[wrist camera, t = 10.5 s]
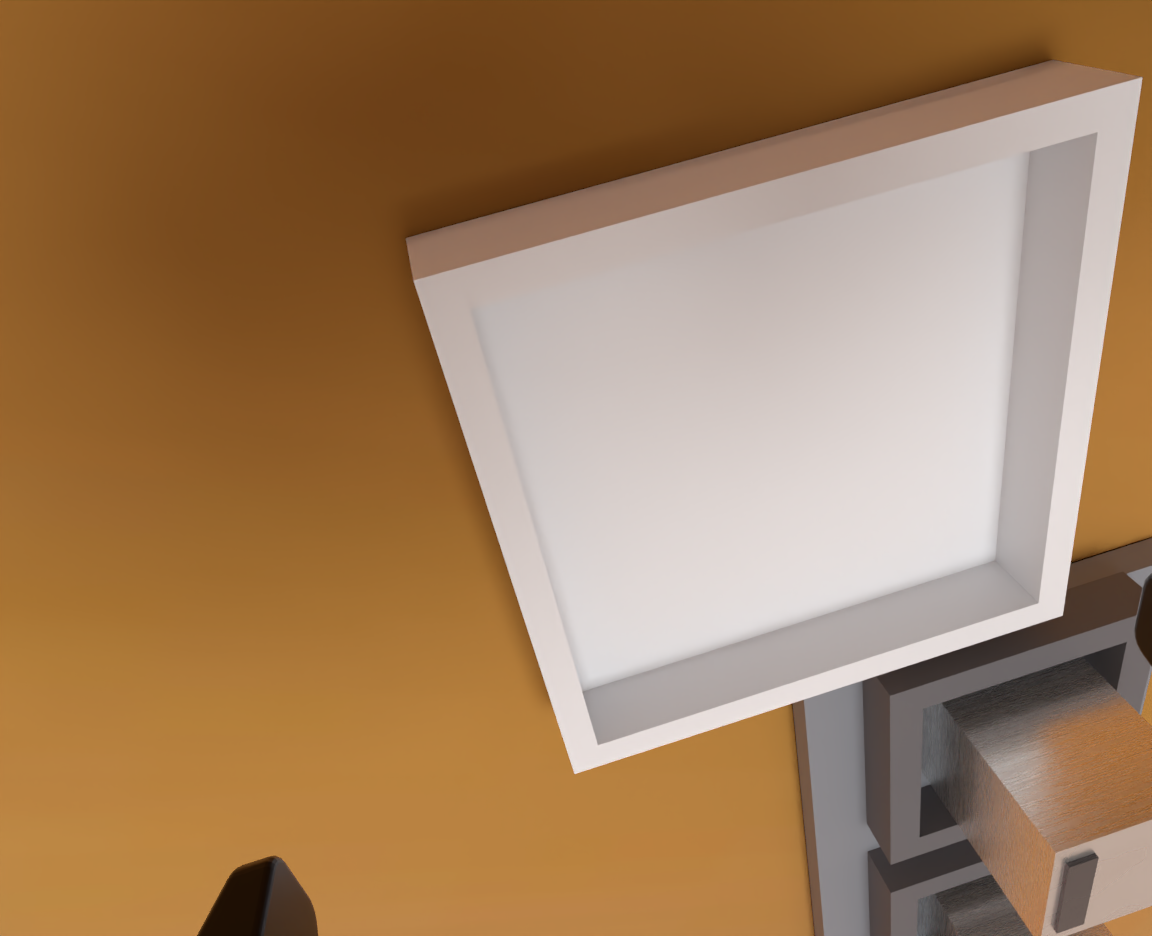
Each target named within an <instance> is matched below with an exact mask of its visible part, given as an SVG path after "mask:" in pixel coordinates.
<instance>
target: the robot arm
mask: <svg viewBox="0 0 1152 936" xmlns="http://www.w3.org/2000/svg"><path fill="white" fill-rule="evenodd" d="M1134 635H1135V639H1136V642H1137V645H1138V647H1139V649H1140V651H1141V652H1142V654H1143V656H1144V657H1145V658H1146V660H1147V661H1148V662H1149V664H1150V665H1151V666H1152V573H1151V574H1149V575H1148V576H1147V577H1146V579H1145V581H1144V584H1143V588H1142V592H1141V597H1140V602H1139V606H1138V611H1137V616H1136V620H1135V625H1134ZM197 936H318V930H317V920H316V915H315V911H314V908H313V905H312V903H311V900H310V899H309V897H308V895H307V894H306V892H305V891H304V889H303V888H302V887H301V885H300V884H299V882H298V881H297V879H296V878H295V876H294V875H293V873H292V872H291V870H290V869H289V868H288V866H287V865H286V863H285V862H284V861H283V860H282V859H281V858H279V857H277V856H270V857H267V858H263V859H260V860H257V861H254V862H251V863H248V864H245V865H242V866H240V867H238V868H237V869H235V870H234V871H233V872H232V874H231V875H230V876H229V878H228V879H227V881H226V883H225V885H224V887H223V889H222V890H221V892H220V894H219V896H218V898H217V900H216V902H215V903H214V905H213V907H212V909H211V911H210V913H209V914H208V916H207V918H206V920H205V922H204V924H203V926H202V927H201V929H200V931H199V933H198V935H197Z"/></svg>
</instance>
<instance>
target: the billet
mask: <svg viewBox="0 0 1152 936" xmlns="http://www.w3.org/2000/svg"><path fill="white" fill-rule="evenodd" d="M917 932H918V934H919V936H1033V935H1032V934H1031V932H1030V931H1029V929H1028V928H1027V926H1026V925H1025V923H1024V922H1023V920H1022V919H1021V917H1020V916H1019V914H1018V913H1017V911H1016V910H1015V908H1014V907H1013V905H1012V904H1011V902H1010V901H1009V900H1008V898H1007V897H1006V895H1005V894H1004V892H1003V891H1002V889H1001V888H1000V886H999V885H998V883H997V882H996V880H995V879H994V877H993V876H992V874H990V875H987V876H984V877H981V878H979V879H976V880H973V881H970V882H967V883H964V884H961V885H958V886H955V887H952V888H950V889H947V890H944V891H941V892H938V893H935V894H932V895H929V896H926V897H923V898H921V899H918V911H917ZM1068 936H1113V935H1112V934H1111V933H1110V931H1109V930H1108V929H1107V927H1106V926H1105V925H1104V923H1102V924H1099V925H1096V926H1093V927H1090V928H1088V929H1085V930H1082V931H1079V932H1076V933H1073V934H1071V935H1068Z"/></svg>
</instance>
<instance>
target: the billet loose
mask: <svg viewBox="0 0 1152 936" xmlns="http://www.w3.org/2000/svg"><path fill="white" fill-rule="evenodd" d="M921 771H922V772H923V774H924V775H925V777H926V778H927V780H928V781H929V783H930V784H931V786H932V787H933V789H934V790H935V792H936V793H937V795H938V796H939V798H940V799H941V800H942V802H943V803H944V805H945V806H946V808H947V809H948V811H949V812H950V814H951V815H952V817H953V818H954V820H955V821H956V823H957V824H958V826H959V827H960V829H961V830H962V832H963V833H964V834H965V836H966V837H967V839H968V840H969V842H970V843H971V845H972V846H973V848H974V849H975V851H976V852H977V854H978V855H979V857H980V858H981V860H982V861H983V863H984V864H985V866H986V867H987V868H988V870H989V871H990V873H991V874H992V876H993V877H994V879H995V880H996V882H997V883H998V885H999V886H1000V888H1001V889H1002V891H1003V892H1004V894H1005V895H1006V897H1007V898H1008V900H1009V901H1010V902H1011V904H1012V905H1013V907H1014V908H1015V910H1016V911H1017V913H1018V914H1019V916H1020V917H1021V919H1022V920H1023V922H1024V923H1025V925H1026V926H1027V928H1028V929H1029V931H1030V932H1031V934H1032V935H1033V936H1068V935H1071V934H1073V933H1076V932H1079V931H1082V930H1085V929H1088V928H1090V927H1093V926H1096V925H1099V924H1102V923H1104V922H1107V921H1110V920H1113V919H1116V918H1119V917H1121V916H1124V915H1127V914H1130V913H1133V912H1135V911H1138V910H1141V909H1144V908H1147V907H1150V906H1152V726H1151V725H1150V724H1149V723H1148V722H1147V721H1146V720H1145V719H1144V718H1143V717H1142V716H1141V715H1140V714H1139V713H1138V712H1137V711H1136V710H1135V709H1134V708H1133V707H1132V706H1131V705H1130V704H1129V703H1128V702H1127V701H1126V700H1125V699H1124V698H1123V697H1122V696H1121V695H1120V694H1119V693H1118V692H1117V691H1116V690H1115V689H1114V688H1113V687H1112V686H1111V685H1110V684H1109V683H1108V682H1107V681H1106V680H1105V679H1104V678H1103V677H1102V676H1101V675H1100V674H1099V673H1098V672H1097V671H1096V670H1095V669H1094V668H1093V667H1092V666H1091V665H1090V664H1089V663H1088V662H1087V661H1086V660H1085V659H1084V658H1083V657H1079V658H1076V659H1073V660H1070V661H1067V662H1064V663H1061V664H1058V665H1055V666H1052V667H1049V668H1046V669H1043V670H1040V671H1036V672H1033V673H1030V674H1027V675H1024V676H1021V677H1018V678H1015V679H1012V680H1009V681H1006V682H1003V683H1000V684H997V685H994V686H991V687H988V688H985V689H982V690H979V691H976V692H973V693H970V694H967V695H963V696H960V697H957V698H954V699H951V700H948V701H945V702H942V703H939V704H936V705H933V706H930V707H927V708H924V709H923V730H922V766H921Z"/></svg>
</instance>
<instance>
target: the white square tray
mask: <svg viewBox="0 0 1152 936" xmlns="http://www.w3.org/2000/svg"><path fill="white" fill-rule="evenodd" d="M1142 78H1143V77H1140V76H1134V75H1129V74H1124V73H1119V72H1114V71H1109V70H1104V69H1098V68H1093V67H1088V66H1083V65H1078V64H1073V63H1067V62H1062V61H1057V60H1050V61H1047V62H1043V63H1039V64H1036V65H1032V66H1028V67H1025V68H1021V69H1018V70H1014V71H1010V72H1007V73H1003V74H999V75H996V76H992V77H989V78H985V79H981V80H978V81H974V82H970V83H967V84H963V85H959V86H956V87H952V88H949V89H945V90H941V91H938V92H934V93H930V94H927V95H923V96H920V97H916V98H912V99H909V100H905V101H901V102H898V103H894V104H890V105H887V106H883V107H880V108H876V109H872V110H869V111H865V112H861V113H858V114H854V115H851V116H847V117H843V118H840V119H836V120H832V121H829V122H825V123H821V124H818V125H814V126H811V127H807V128H803V129H800V130H796V131H792V132H789V133H785V134H782V135H778V136H774V137H771V138H767V139H763V140H760V141H756V142H752V143H749V144H745V145H742V146H738V147H734V148H731V149H727V150H723V151H720V152H716V153H713V154H709V155H705V156H702V157H698V158H694V159H691V160H687V161H683V162H680V163H676V164H673V165H669V166H665V167H662V168H658V169H654V170H651V171H647V172H644V173H640V174H636V175H633V176H629V177H625V178H622V179H618V180H614V181H611V182H607V183H604V184H600V185H596V186H593V187H589V188H585V189H582V190H578V191H574V192H571V193H567V194H564V195H560V196H556V197H553V198H549V199H545V200H542V201H538V202H535V203H531V204H527V205H524V206H520V207H516V208H513V209H509V210H505V211H502V212H498V213H495V214H491V215H487V216H484V217H480V218H476V219H473V220H469V221H466V222H462V223H458V224H455V225H451V226H447V227H444V228H440V229H436V230H433V231H429V232H426V233H422V234H418V235H415V236H411V237H407V238H406V243H407V248H408V254H409V259H410V265H411V270H412V276H413V281H414V284H415V287H416V290H417V293H418V296H419V299H420V302H421V305H422V308H423V311H424V315H425V318H426V321H427V324H428V327H429V330H430V333H431V336H432V339H433V342H434V345H435V348H436V351H437V354H438V357H439V360H440V363H441V367H442V370H443V373H444V376H445V379H446V382H447V385H448V388H449V391H450V394H451V397H452V400H453V403H454V406H455V409H456V412H457V416H458V419H459V422H460V425H461V428H462V431H463V434H464V437H465V440H466V443H467V446H468V449H469V452H470V455H471V458H472V461H473V464H474V468H475V471H476V474H477V477H478V480H479V483H480V486H481V489H482V492H483V495H484V498H485V501H486V504H487V507H488V510H489V513H490V516H491V520H492V523H493V526H494V529H495V532H496V535H497V538H498V541H499V544H500V547H501V550H502V553H503V556H504V559H505V562H506V565H507V568H508V572H509V575H510V578H511V581H512V584H513V587H514V590H515V593H516V596H517V599H518V602H519V605H520V608H521V611H522V614H523V617H524V621H525V624H526V627H527V630H528V633H529V636H530V639H531V642H532V645H533V648H534V651H535V654H536V657H537V660H538V663H539V666H540V669H541V673H542V676H543V679H544V682H545V685H546V688H547V691H548V694H549V697H550V700H551V703H552V706H553V709H554V712H555V715H556V718H557V721H558V725H559V728H560V731H561V734H562V737H563V740H564V743H565V746H566V749H567V752H568V755H569V758H570V761H571V764H572V767H573V770H574V773H575V774H576V773H579V772H582V771H585V770H589V769H592V768H595V767H598V766H601V765H604V764H607V763H610V762H613V761H616V760H619V759H622V758H626V757H629V756H632V755H635V754H638V753H641V752H644V751H647V750H650V749H653V748H656V747H659V746H662V745H666V744H669V743H672V742H675V741H678V740H681V739H684V738H687V737H690V736H693V735H696V734H699V733H703V732H706V731H709V730H712V729H715V728H718V727H721V726H724V725H727V724H730V723H733V722H736V721H740V720H743V719H746V718H749V717H752V716H755V715H758V714H761V713H764V712H767V711H770V710H773V709H776V708H780V707H783V706H786V705H789V704H792V703H795V702H798V701H801V700H804V699H807V698H810V697H813V696H817V695H820V694H823V693H826V692H829V691H832V690H835V689H838V688H841V687H844V686H847V685H850V684H854V683H857V682H860V681H863V680H866V679H869V678H872V677H875V676H878V675H881V674H884V673H887V672H890V671H894V670H897V669H900V668H903V667H906V666H909V665H912V664H915V663H918V662H921V661H924V660H927V659H931V658H934V657H937V656H940V655H943V654H946V653H949V652H952V651H955V650H958V649H961V648H964V647H968V646H971V645H974V644H977V643H980V642H983V641H986V640H989V639H992V638H995V637H998V636H1001V635H1004V634H1008V633H1011V632H1014V631H1017V630H1020V629H1023V628H1026V627H1029V626H1032V625H1035V624H1038V623H1041V622H1045V621H1048V620H1051V619H1054V618H1057V617H1060V616H1063V611H1064V604H1065V597H1066V590H1067V584H1068V577H1069V570H1070V563H1071V557H1072V550H1073V543H1074V536H1075V530H1076V523H1077V516H1078V509H1079V503H1080V496H1081V489H1082V482H1083V476H1084V469H1085V462H1086V456H1087V449H1088V442H1089V435H1090V429H1091V422H1092V415H1093V408H1094V402H1095V395H1096V388H1097V381H1098V375H1099V368H1100V361H1101V354H1102V348H1103V341H1104V334H1105V327H1106V321H1107V314H1108V307H1109V300H1110V294H1111V287H1112V280H1113V273H1114V267H1115V260H1116V253H1117V246H1118V240H1119V233H1120V226H1121V219H1122V213H1123V206H1124V199H1125V192H1126V186H1127V179H1128V172H1129V166H1130V159H1131V152H1132V145H1133V139H1134V132H1135V125H1136V118H1137V112H1138V105H1139V98H1140V91H1141V85H1142Z"/></svg>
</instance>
